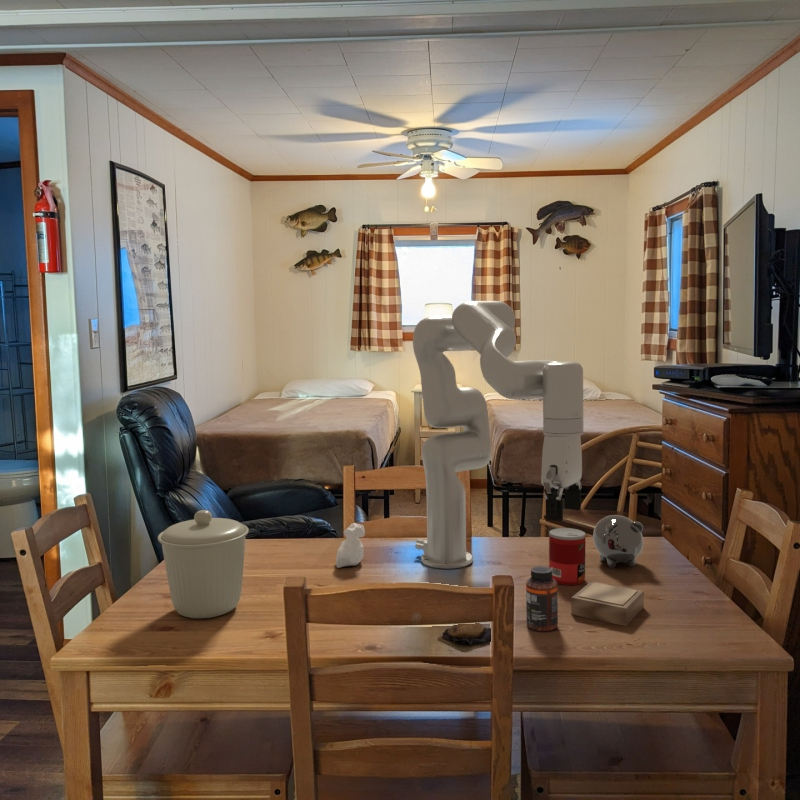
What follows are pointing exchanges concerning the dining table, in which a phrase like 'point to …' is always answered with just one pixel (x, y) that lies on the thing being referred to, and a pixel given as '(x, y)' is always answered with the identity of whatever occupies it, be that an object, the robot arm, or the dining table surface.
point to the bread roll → (466, 636)
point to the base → (607, 603)
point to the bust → (351, 546)
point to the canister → (204, 564)
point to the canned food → (567, 555)
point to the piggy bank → (618, 540)
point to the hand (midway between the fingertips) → (563, 514)
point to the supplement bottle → (541, 600)
